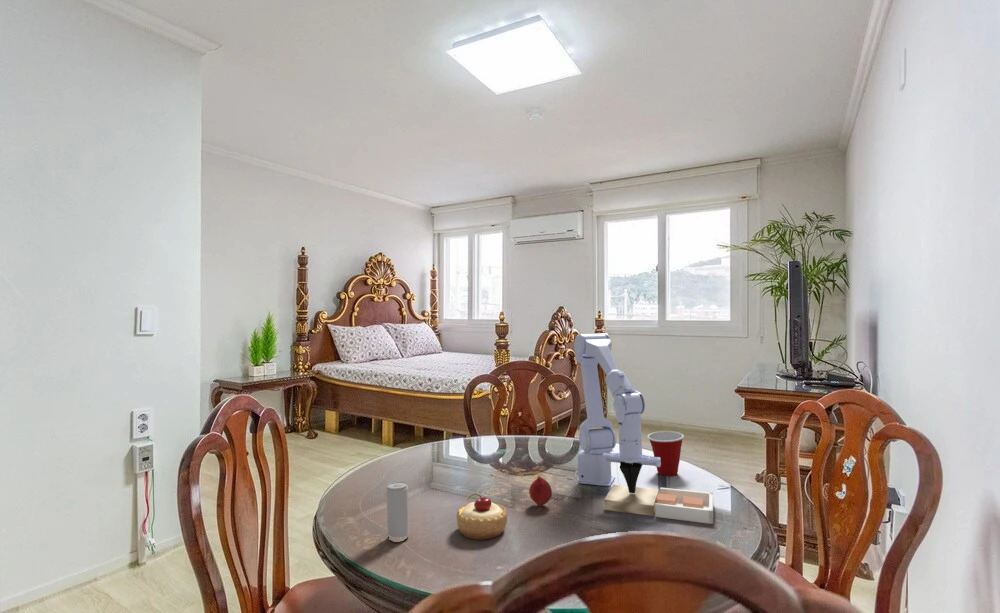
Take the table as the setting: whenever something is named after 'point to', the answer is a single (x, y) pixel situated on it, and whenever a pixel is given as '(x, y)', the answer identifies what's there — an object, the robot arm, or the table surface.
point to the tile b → (693, 502)
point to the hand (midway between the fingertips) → (632, 491)
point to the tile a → (666, 499)
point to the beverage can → (397, 509)
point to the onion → (540, 491)
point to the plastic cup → (667, 450)
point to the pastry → (481, 519)
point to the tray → (686, 512)
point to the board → (631, 500)
